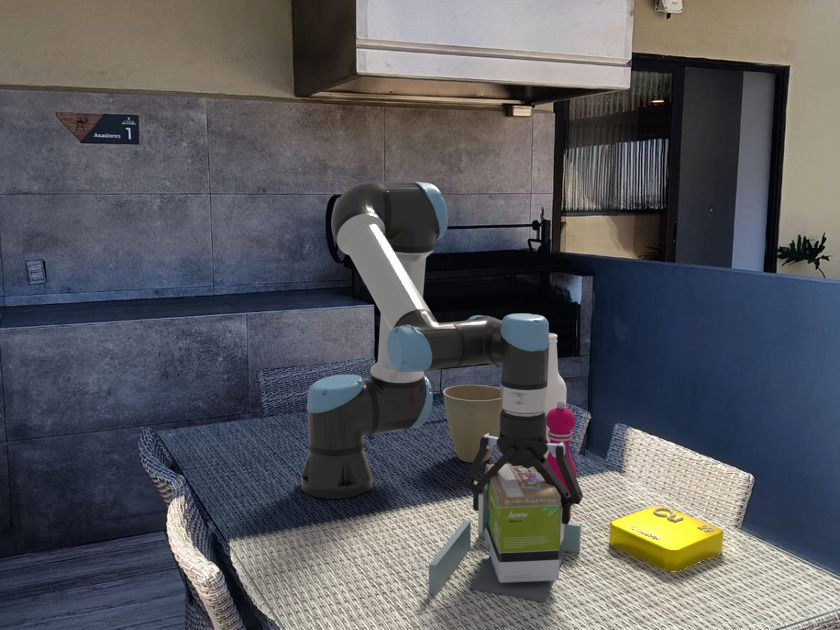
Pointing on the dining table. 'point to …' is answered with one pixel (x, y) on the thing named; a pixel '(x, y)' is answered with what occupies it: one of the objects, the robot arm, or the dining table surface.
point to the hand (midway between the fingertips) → (520, 535)
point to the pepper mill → (560, 435)
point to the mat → (512, 583)
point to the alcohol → (554, 381)
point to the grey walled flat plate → (460, 546)
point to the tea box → (523, 525)
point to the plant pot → (472, 417)
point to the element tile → (666, 538)
